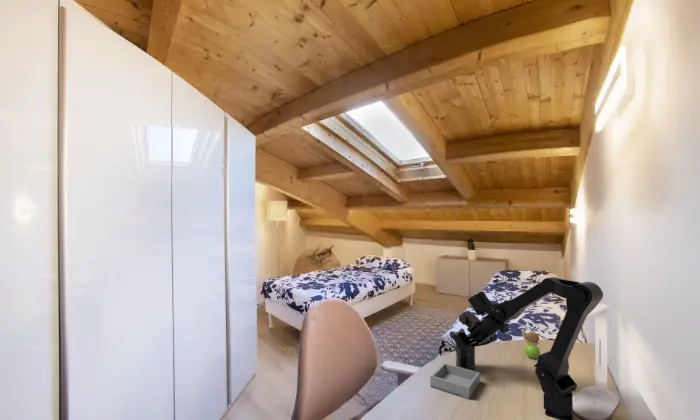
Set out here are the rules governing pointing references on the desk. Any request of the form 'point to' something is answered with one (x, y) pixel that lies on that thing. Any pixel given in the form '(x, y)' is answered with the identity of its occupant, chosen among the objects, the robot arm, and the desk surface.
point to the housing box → (455, 380)
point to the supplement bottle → (466, 358)
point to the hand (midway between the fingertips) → (462, 348)
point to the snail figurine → (531, 344)
